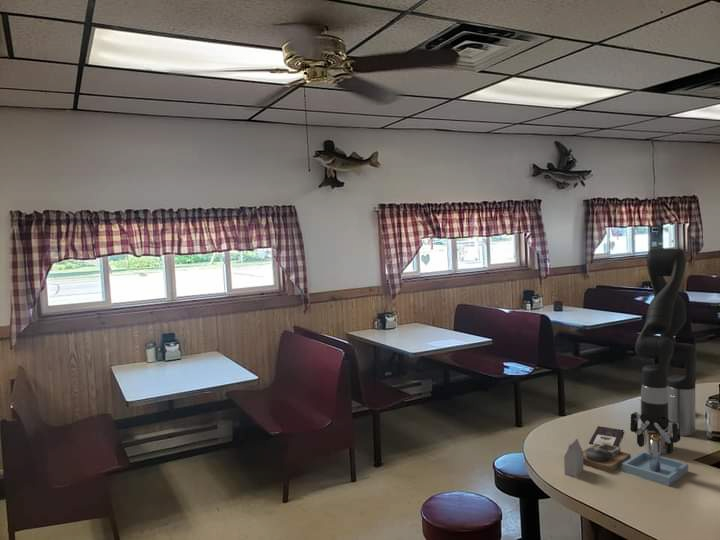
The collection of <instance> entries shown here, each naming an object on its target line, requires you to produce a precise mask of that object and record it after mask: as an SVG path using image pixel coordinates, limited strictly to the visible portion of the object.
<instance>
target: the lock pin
mask: <svg viewBox="0 0 720 540" xmlns="http://www.w3.org/2000/svg"><path fill="white" fill-rule="evenodd" d="M661 454H662V453H661V436H660V435H658V434H650V470H651V471H654V472H660V471H661V456H662V455H661Z"/></svg>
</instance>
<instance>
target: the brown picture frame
mask: <svg viewBox="0 0 720 540" xmlns="http://www.w3.org/2000/svg"><path fill="white" fill-rule="evenodd" d="M623 431H624V429H619V428H613V427H607V426H597V427H596V429H595V431H594V433H593V434H592V436H591V438H590V439H589V442H588V444H589V445H593V444H597V445H601V444H603V443H606V444H609V445H613V446H616V447H619V444H620V440H621V439H622V436H623V434H624V432H625V431H624V432H623ZM620 438H621V439H620ZM618 443H619V444H618Z"/></svg>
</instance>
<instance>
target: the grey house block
mask: <svg viewBox="0 0 720 540" xmlns="http://www.w3.org/2000/svg"><path fill="white" fill-rule="evenodd" d="M583 451H584V450H583V449H582V447H581V444H580V441H579V439H578V438H575V439H574V440H572V442H570V444H569V445H568V449H567V451H566V452H565V455H564V457H563V460H564V461H563V462H564V463H563V464H564V466H563V467H564V475H565V476H568V477H573V478H578V477H579V475H581V473H582V472H583V471H584V465H583Z"/></svg>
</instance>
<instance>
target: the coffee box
mask: <svg viewBox="0 0 720 540" xmlns="http://www.w3.org/2000/svg"><path fill="white" fill-rule="evenodd" d="M640 414H642V412H641V411H640ZM642 425H643V422H642V421H641V420H640V427H641V426H642ZM667 428H668V426H667ZM664 432H665V431H664ZM643 434H644V446H643V447H644V449H645V450H646V452H647V453H650V434H658V435H660V436H661V454H664V455H667V454H666V443H667V441H666V440H665V438H664V437H663V436H662V435H661V434H660V432H659V433H657V432H654V431H649V430H648V429H646V430H645V431H644V432H643Z"/></svg>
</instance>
